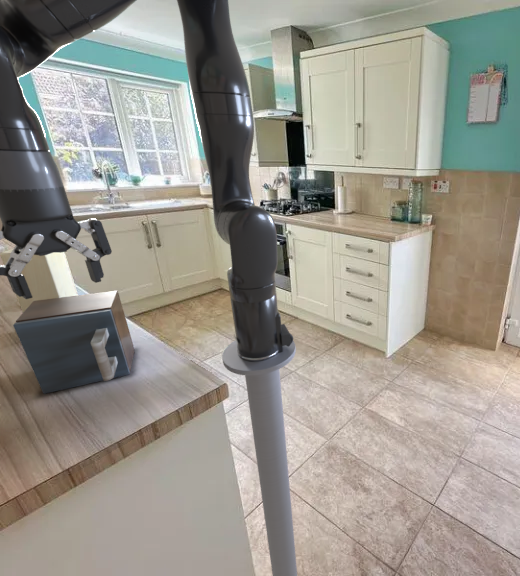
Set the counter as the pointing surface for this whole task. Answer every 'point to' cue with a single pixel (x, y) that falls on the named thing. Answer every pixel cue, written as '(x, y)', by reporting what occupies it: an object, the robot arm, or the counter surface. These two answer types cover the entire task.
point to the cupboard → (83, 305)
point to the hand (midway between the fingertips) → (64, 288)
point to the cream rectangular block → (45, 277)
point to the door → (73, 349)
